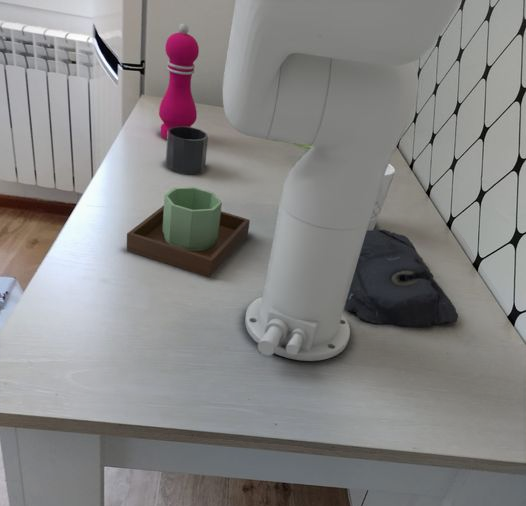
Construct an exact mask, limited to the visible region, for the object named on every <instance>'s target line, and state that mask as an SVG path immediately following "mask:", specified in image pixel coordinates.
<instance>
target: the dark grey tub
mask: <svg viewBox="0 0 526 506" xmlns="http://www.w3.org/2000/svg"><path fill="white" fill-rule="evenodd" d="M208 141H209V135H208V133H207V132H206V131H204V130H202V129H199V128H197V127H193V126H191V127H186V126H177V127H171V128H170V129H168V132H167V139H166V151H165V166H166V168H167V169H168V170H170V171H171V172H174V173H177V174H181V175H188V176H189V175H190V176H191V175H199V174H202V173H203V172H204V171H205V169H206V164H207V163H206V162H207V151H208V144H209V143H208Z"/></svg>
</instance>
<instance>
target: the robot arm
mask: <svg viewBox="0 0 526 506" xmlns="http://www.w3.org/2000/svg"><path fill="white" fill-rule="evenodd" d="M461 1H462V0H235V3H234V9H233V15H232V21H231V28H230V33H229V41H228V46H227V54H226V59H225V63H224V64H225V65H224V71H223V79H222V106H223V110H224V115H225V117H226V120H227V122H228V123H229V125H230V126H231V127H232V128H233V129H234V130H235V131H236V132H237V133H240V134H241V135H245V136H248V137H252V138H256V139H262V140H263V139H264V140H269V141H275V142H276V141H277V142H284V143H291V144H294V143H298V144H305V145H308V146H313V147H312V148H311V149H309V150H308V151H307V152H305V153H304V155H303V156H301V158H300V159H299V160H298V161H297V162H296V163H295V164H294V166H293V167H292V168H291V169H290V171H289V173H288V174H287V176H286V178H285V181H284V184H283V187H282V190H281V195H280V199H279V204H278V205H279V206H278V212H277V216H276V221H275V227H274V232H273V237H272V243H271V249H270V253H269V258H268V265H267V270H266V275H265V281H264V287H263V291H262V296H260V297H258V298H256V299H254V300H253V301H251V302H250V304H249V305H248V307H247V309H246V312H245V316H244V317H245V319H244V325H245V328H246V330H247V333H248V334H249V336H250V337H251V338H252V340H253V341H254V342H255V343H257V349H258V352H259V353H260V354H261V355H263V356H265V357H269V356H272V355H274V354H275V355H278V356H279V357H284V358H285V359H290V360H295V361H303V362H315V361H323V360H327V359H331V358H333V357H335V356H338V355H339V354H340V353H342V352H343V351H344V350H345V349H346V347H347V345H348V343H349V340H350V337H351V336H350V334H351V329H350V325H349V322H348V321H347V319H346V318H345V315H343V313H344V311H345V308H344V307H345V303H346V300H347V296H348V293H349V290H350V286H351V283H352V279H353V276H354V272H355V269H356V266H357V262H358V259H359V255H360V252H361V248H362V245H363V242H364V238H365V235H366V231H367V228H368V224H369V221H370V218H371V215H372V211H373V208H374V205H375V201H376V198H377V195H378V192H379V189H380V186H381V183H382V180H383V177H384V175H385V172H386V169H387V167H388V164H390V162H391V160H392V158H393V155H394V152H395V151H396V148H397V147H398V145H399V142H400V140H401V138H402V137H403V134H404V132H405V130H406V128H407V126H408V124H409V121H410V120H411V117H412V115H413V112H414V108H415V106H416V102H417V98H418V92H419V75H418V72H417V69H416V65H415V64H414V62H416V61H417V60H420V58H422V57H424V55H426V54H427V53H428V51H430V49H431V48H432V47H433V46H434V45H435V43H436V42H437V40H438V39H439V37H440V36H441V34H442V33H443V31H444V29H445V28H446V26H447V25H448V23H449V21H450V20H451V18H452V16H453V15H454V13H455V12H456V10H457V9H458V6H459V4H460V3H461Z"/></svg>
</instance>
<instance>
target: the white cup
mask: <svg viewBox="0 0 526 506" xmlns="http://www.w3.org/2000/svg"><path fill="white" fill-rule="evenodd" d="M395 172H396V170H395V167H394V166H393V165H392V164H390V163H389V164H388V167H387V169H386V172H385V175H384V177H383V180H382V183H381V186H380V189H379V192H378V195H377V198H376V201H375V205H374V208H373V211H372V215H371V218H370V221H369V224H368V228H367V231H370V230H375V227H376V224H377V221H378V218H379V215H380V214H381V212H382V209H383V206H384V203H385V200H386V198H387V196H388V192H389V189H390V188H391V184H392V181H393V178H394V175H395Z"/></svg>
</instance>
